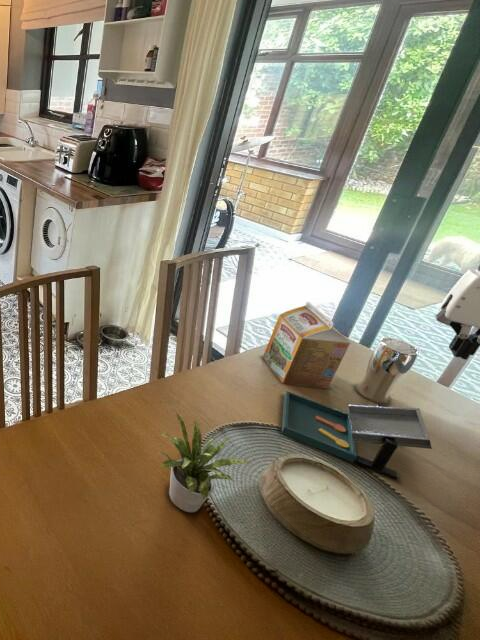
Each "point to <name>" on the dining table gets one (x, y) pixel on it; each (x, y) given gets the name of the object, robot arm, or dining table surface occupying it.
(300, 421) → the tray
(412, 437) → the key dish
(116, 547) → the dining table surface
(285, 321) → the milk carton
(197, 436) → the house plant
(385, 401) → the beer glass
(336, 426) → the copper key
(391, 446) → the dish cradle
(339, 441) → the brass key
